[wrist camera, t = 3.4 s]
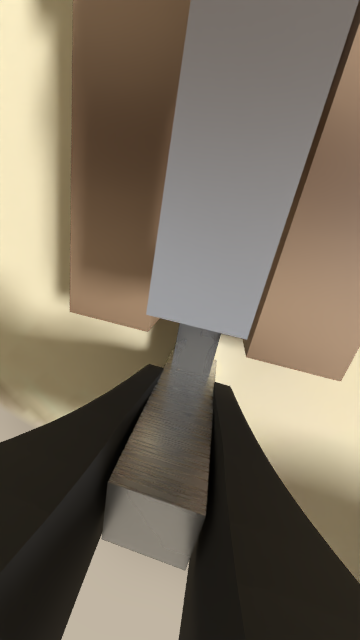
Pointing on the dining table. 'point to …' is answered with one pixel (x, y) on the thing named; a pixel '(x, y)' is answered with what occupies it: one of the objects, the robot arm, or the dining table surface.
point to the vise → (220, 172)
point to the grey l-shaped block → (167, 458)
